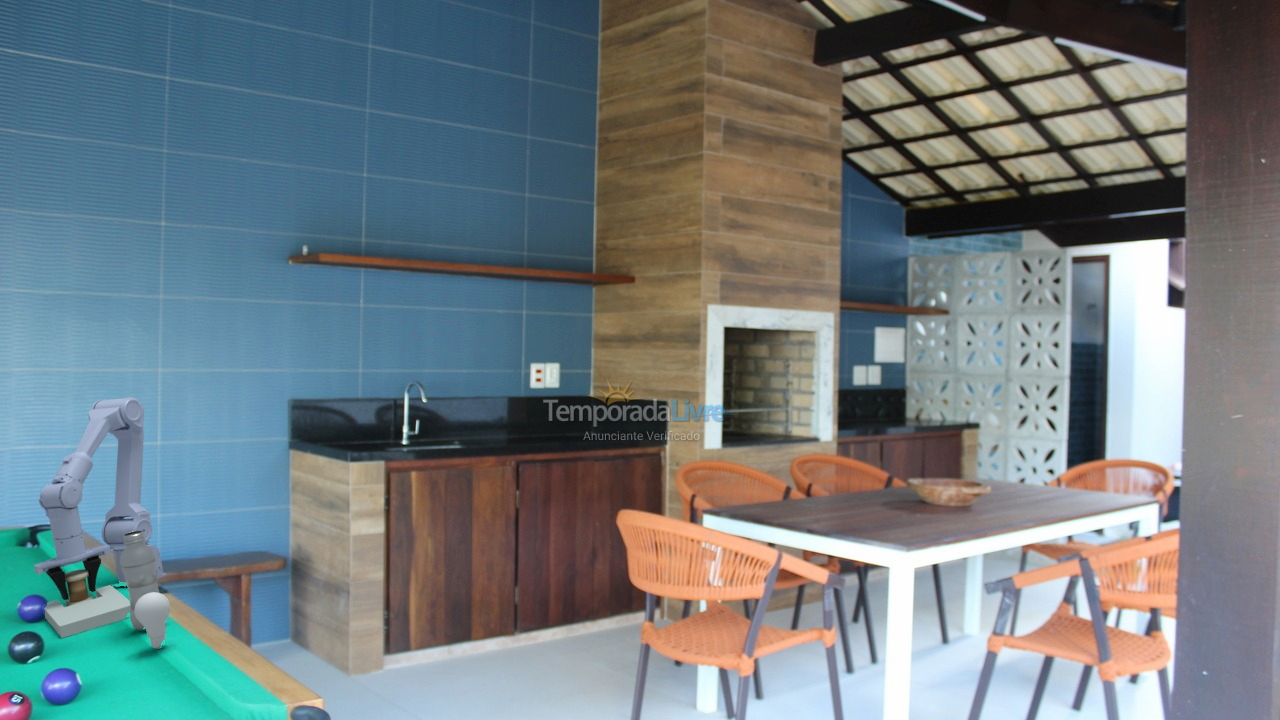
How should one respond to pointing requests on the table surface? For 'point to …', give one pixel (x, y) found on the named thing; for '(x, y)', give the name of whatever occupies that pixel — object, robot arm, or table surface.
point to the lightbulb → (153, 616)
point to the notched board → (88, 612)
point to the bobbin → (77, 586)
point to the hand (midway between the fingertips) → (79, 595)
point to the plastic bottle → (138, 570)
